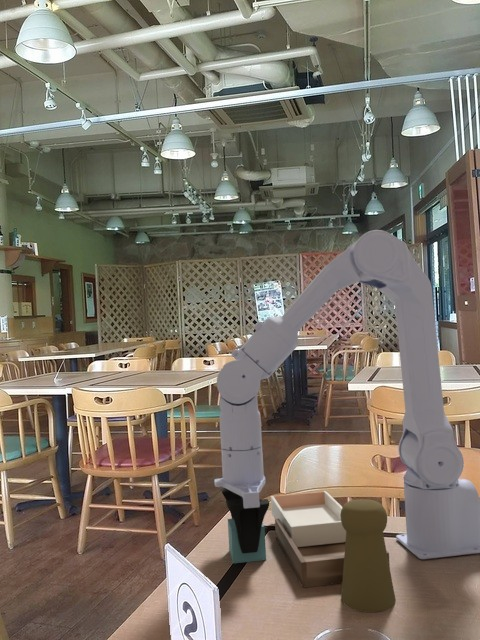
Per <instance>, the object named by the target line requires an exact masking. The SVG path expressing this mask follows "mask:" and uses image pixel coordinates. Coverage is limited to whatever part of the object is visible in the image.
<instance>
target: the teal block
mask: <svg viewBox="0 0 480 640" xmlns="http://www.w3.org/2000/svg"><path fill="white" fill-rule="evenodd" d="M265 527H266V526H265V525H264V522H263V523H262V527H261V533H260V540H259V546H258V551H257V552H253V553H244V554H243V553H242V551H241V548H240V545H239V540H238V535H237V530H236V525H235V522H234V519H232V518H227V528H228V529H227V530H228V531H227V532H228V551H229V554H230V557H231V561H232V564H239V563H240V564H241V563H249V562H250V563H251V562H259V561H267V552H266V551H267V549H266V533H265V532H266V531H265Z"/></svg>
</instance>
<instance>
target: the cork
mask: <svg viewBox="0 0 480 640" xmlns="http://www.w3.org/2000/svg"><path fill="white" fill-rule="evenodd" d="M342 507H343V508H342V509H341V514H340V516H341V522H342V525H343V528H344V529H345V530H346V541H345V555H344V568H343V581H342V583H341V594H340V598H341V602H342V603H343V604H344V605H345V607H348V608H349V609H352V610H356V611H358V612H362V613H363V612H364V613H365V612H366V613H379V612H384V611H388V610H390V609H392V608H393V607H394V606H395V604H396V600H397V599H396V595H395V594H396V593H395V591H394V590H395V589H394V584H393V578H392V574H391V566H390V567H389V564H390V561H389V562H388V556H387V552H388V551H387V547H386V540H385V537H384V531H385V529H386V528H387V523H388V514H387V511H386V509H385V507H384V506H383V504H382V503H381V502H378V501H376V500H373V499H368V498H367V499H366V498H358V499H351V500H349V501H347V502H345V503H344V504H343V506H342Z"/></svg>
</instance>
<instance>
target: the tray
mask: <svg viewBox="0 0 480 640" xmlns="http://www.w3.org/2000/svg"><path fill="white" fill-rule="evenodd" d="M270 507H271V508H270V510H271V516H272V517H273V519H274V520H275V519H280V521H281V523H282V524H283V526H284V527H285V529H286V531H287V532H288V534H289V535H290V537H291V539H292V540H293V542H294V543H295V545H296V547H303V546H313V545H322V544H332V543H341V542H345V541H346V530H345V529H344V528H343V525H342V522H341V516H340V514H341V509H342V508H343V506H342V505H341V503H339V502H338V501H337V500H336V499H335V498H334V497H333V496H332V495H331V494H330V493H329V492H327V490H323V491H321V490H320V491H311V492H301V493H288V494H281V495H279V494H278V495H270Z"/></svg>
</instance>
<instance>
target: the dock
mask: <svg viewBox="0 0 480 640" xmlns="http://www.w3.org/2000/svg"><path fill="white" fill-rule="evenodd" d="M274 525H275V526H274V527H275V529H274V530H275V540H276V542H277V544H278V546H279V547H280V549H281V551H282V553H283V555H284V557H285V558H286V560H287V562H288V564H289V566H290V567H291V569H292V572H293V573H294V575H295V576H296V578H297V580H298V582H299V583H300V586H301V587H302V588H310V587H321V586H331V585H337V584H342V581H343V568H344V555H345V542H341V543H332V544H322V545H313V546H303V547H296V545H295V543H294V542H293V540H292V539H291V537H290V535H289V534H288V532H287V531H286V529H285V527H284V526H283V524H282V523H281V521H280V519H275V518H274ZM387 556H388V562H389V567H390V568H391V566H390V564H391V563H390V553H389V551H387Z"/></svg>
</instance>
